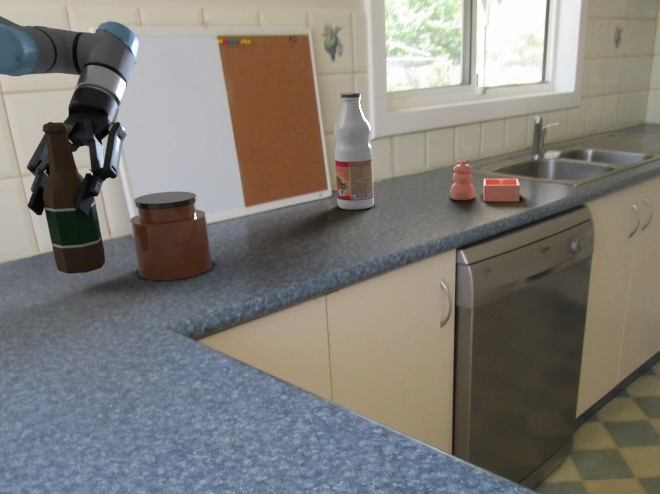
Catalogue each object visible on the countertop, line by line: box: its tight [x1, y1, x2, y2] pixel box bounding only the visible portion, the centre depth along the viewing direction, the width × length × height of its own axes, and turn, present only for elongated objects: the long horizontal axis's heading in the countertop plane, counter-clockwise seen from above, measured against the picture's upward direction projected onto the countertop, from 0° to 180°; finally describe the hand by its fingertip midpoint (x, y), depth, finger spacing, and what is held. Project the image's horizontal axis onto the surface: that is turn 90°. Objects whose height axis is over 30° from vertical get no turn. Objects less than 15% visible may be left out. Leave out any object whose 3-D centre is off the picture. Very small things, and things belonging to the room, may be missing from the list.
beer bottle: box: [42, 121, 106, 275], centre depth 109 cm, size 8×8×24 cm
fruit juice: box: [333, 91, 375, 211], centre depth 166 cm, size 9×9×28 cm
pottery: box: [449, 159, 521, 202], centre depth 175 cm, size 18×10×10 cm, turn 84°
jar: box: [129, 191, 213, 281], centre depth 121 cm, size 13×13×14 cm
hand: (57, 211), depth 107 cm, fingers closed on beer bottle, 7 cm apart
